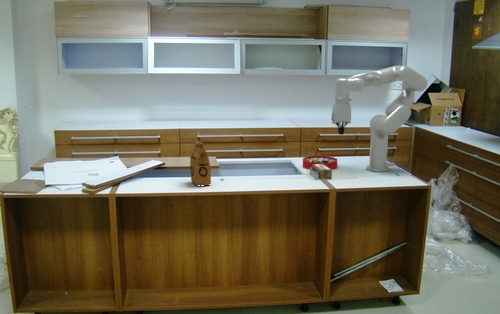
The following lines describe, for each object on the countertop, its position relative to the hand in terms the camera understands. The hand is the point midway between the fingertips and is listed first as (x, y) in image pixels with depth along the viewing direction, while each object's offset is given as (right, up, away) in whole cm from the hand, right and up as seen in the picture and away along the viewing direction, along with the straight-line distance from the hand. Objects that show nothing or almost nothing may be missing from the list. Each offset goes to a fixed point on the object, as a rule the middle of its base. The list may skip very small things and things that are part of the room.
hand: (341, 134), depth 257 cm
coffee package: (-76, -27, -18) cm, 83 cm away
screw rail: (-16, -23, -9) cm, 30 cm away
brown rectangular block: (-12, -23, -9) cm, 27 cm away
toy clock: (-10, -20, +14) cm, 26 cm away
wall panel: (-7, -24, -7) cm, 26 cm away
